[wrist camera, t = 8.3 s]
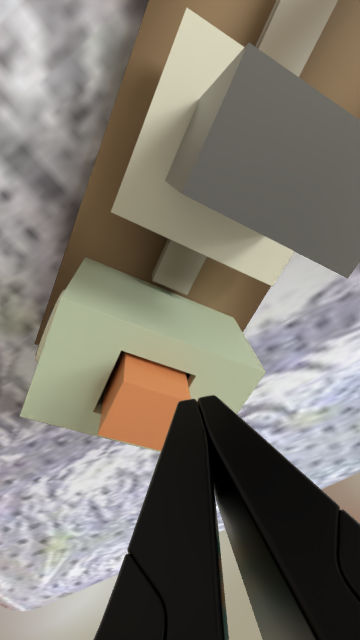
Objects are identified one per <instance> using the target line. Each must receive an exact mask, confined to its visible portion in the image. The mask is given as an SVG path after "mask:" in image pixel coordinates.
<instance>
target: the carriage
mask: <svg viewBox="0 0 360 640" xmlns="http://www.w3.org/2000/svg"><path fill="white" fill-rule="evenodd" d="M111 212H112V213H114V214H116V215H118V216H121V217H123V218H125V219H127V220H129V221H131V222H134V223H136V224H138V225H140V226H142V227H144V228H147V229H149V230H151V231H153V232H155V233H157V234H160V235H162V236H164V237H166V238H168V239H171V240H173V241H175V242H177V243H179V244H181V245H184V246H186V247H188V248H190V249H192V250H194V251H197V252H199V253H201V254H203V255H205V256H207V257H210V258H212V259H214V260H216V261H218V262H221V263H223V264H225V265H227V266H229V267H231V268H234V269H236V270H238V271H240V272H242V273H244V274H247V275H249V276H251V277H253V278H255V279H257V280H260V281H262V282H264V283H266V284H268V285H271V286H273V285H274V283H275V282H276V280H277V278H278V277H279V275H280V274H281V272H282V270H283V269H284V267H285V265H286V264H287V262H288V261H289V259H290V257H291V256H292V254H293V253H294V251H295V252H297V253H299V254H301V255H303V256H305V257H307V258H309V259H311V260H313V261H315V262H317V263H319V264H321V265H322V266H324V267H326V268H328V269H330V270H332V271H334V272H336V273H338V274H340V275H342V276H344V277H346V278H348V277H349V276H350V274H351V273H352V272H353V270H354V269H355V267H356V266H357V265H358V263H359V262H360V120H359V119H358V118H356V117H355V116H353V115H352V114H351V113H349V112H348V111H346V110H345V109H343V108H342V107H341V106H339V105H338V104H336V103H335V102H333V101H332V100H331V99H329V98H328V97H326V96H325V95H323V94H322V93H321V92H319V91H318V90H316V89H315V88H313V87H312V86H311V85H309V84H308V83H306V82H305V81H303V80H302V79H301V78H299V77H298V76H296V75H295V74H293V73H292V72H291V71H289V70H288V69H286V68H285V67H284V66H282V65H281V64H279V63H278V62H276V61H275V60H274V59H272V58H271V57H269V56H268V55H266V54H265V53H264V52H262V51H261V50H259V49H258V48H256V47H255V46H254V45H252V44H251V43H248V44H247V45H246V46H245V47H243V46H242V45H240V44H239V43H238V42H236V41H235V40H233V39H232V38H230V37H229V36H227V35H226V34H225V33H223V32H222V31H220V30H219V29H217V28H216V27H214V26H213V25H212V24H210V23H209V22H207V21H206V20H204V19H203V18H201V17H200V16H199V15H197V14H196V13H194V12H193V11H191V10H190V9H188V8H186V11H185V13H184V16H183V19H182V21H181V24H180V27H179V29H178V32H177V35H176V38H175V40H174V43H173V46H172V48H171V51H170V54H169V56H168V59H167V62H166V64H165V67H164V70H163V73H162V75H161V78H160V81H159V83H158V86H157V89H156V91H155V94H154V97H153V100H152V102H151V105H150V108H149V110H148V113H147V116H146V118H145V121H144V124H143V126H142V129H141V132H140V135H139V137H138V140H137V143H136V145H135V148H134V151H133V153H132V156H131V159H130V162H129V164H128V167H127V170H126V172H125V175H124V178H123V180H122V183H121V186H120V189H119V191H118V194H117V197H116V199H115V202H114V205H113V207H112V210H111Z"/></svg>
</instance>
